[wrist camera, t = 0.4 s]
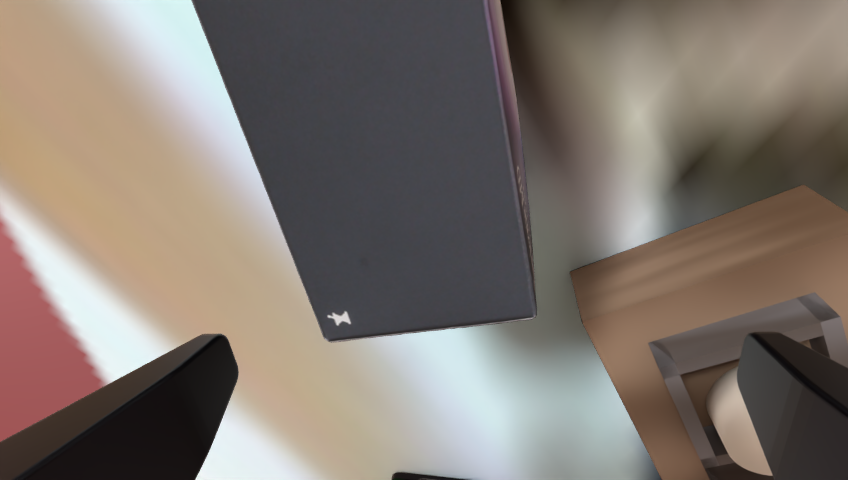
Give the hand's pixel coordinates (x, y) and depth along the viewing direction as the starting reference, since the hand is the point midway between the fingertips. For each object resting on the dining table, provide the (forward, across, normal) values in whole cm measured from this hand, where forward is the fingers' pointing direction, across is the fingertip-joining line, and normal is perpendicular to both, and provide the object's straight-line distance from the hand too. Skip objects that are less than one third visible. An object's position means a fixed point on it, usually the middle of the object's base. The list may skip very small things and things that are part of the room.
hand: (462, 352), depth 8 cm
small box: (+14, +2, -3) cm, 15 cm away
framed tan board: (+14, -13, +17) cm, 26 cm away
